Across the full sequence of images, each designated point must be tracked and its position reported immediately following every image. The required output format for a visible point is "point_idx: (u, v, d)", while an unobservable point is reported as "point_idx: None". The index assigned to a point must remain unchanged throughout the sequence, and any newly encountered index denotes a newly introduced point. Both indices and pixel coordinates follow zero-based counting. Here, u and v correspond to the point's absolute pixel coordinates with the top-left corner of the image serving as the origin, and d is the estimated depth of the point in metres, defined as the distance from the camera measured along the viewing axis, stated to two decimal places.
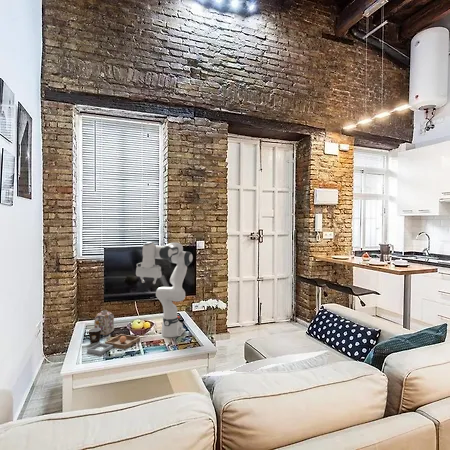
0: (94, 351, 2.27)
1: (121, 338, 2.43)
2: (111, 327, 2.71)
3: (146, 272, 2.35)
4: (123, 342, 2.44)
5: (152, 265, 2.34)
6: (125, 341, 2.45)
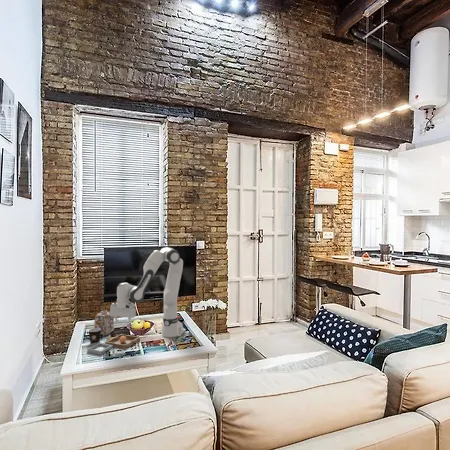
0: (94, 351, 2.27)
1: (121, 338, 2.43)
2: (111, 327, 2.71)
3: None
4: (123, 342, 2.44)
5: None
6: (125, 341, 2.45)
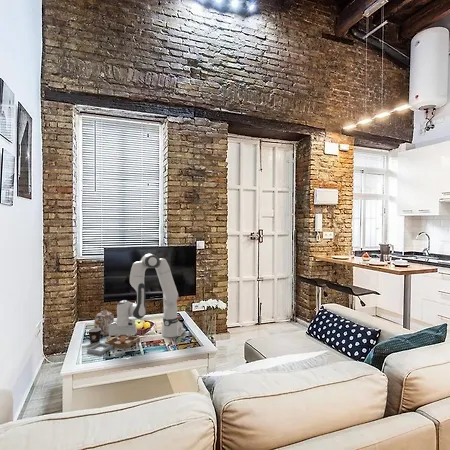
0: (94, 351, 2.27)
1: (121, 338, 2.43)
2: None
3: None
4: (123, 342, 2.44)
5: None
6: (125, 341, 2.45)
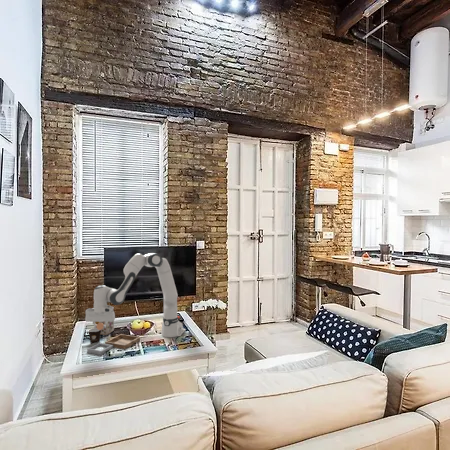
0: (94, 351, 2.27)
1: (98, 325, 2.31)
2: (111, 327, 2.71)
3: None
4: (100, 329, 2.31)
5: None
6: (102, 328, 2.32)
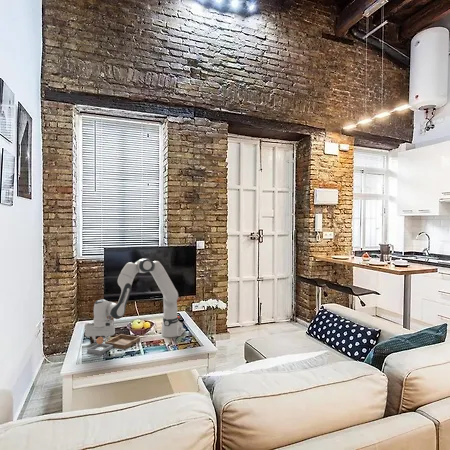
0: (94, 351, 2.27)
1: (98, 339, 2.31)
2: None
3: None
4: (100, 343, 2.31)
5: None
6: (102, 342, 2.33)
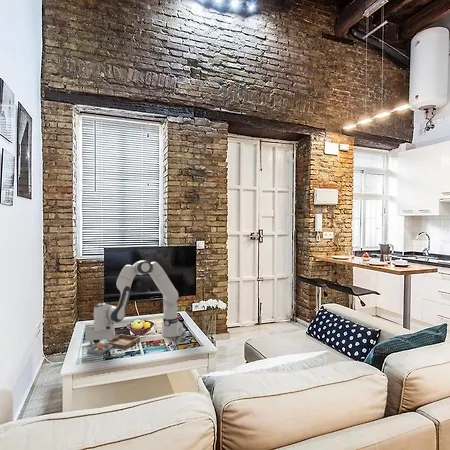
0: (94, 351, 2.27)
1: (98, 345, 2.31)
2: None
3: None
4: None
5: None
6: None
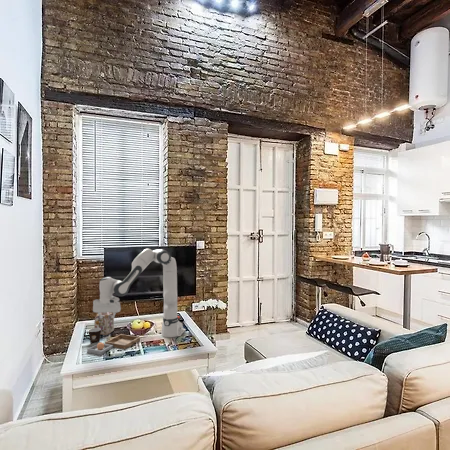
0: (94, 351, 2.27)
1: (99, 345, 2.31)
2: (111, 327, 2.71)
3: None
4: (101, 349, 2.31)
5: None
6: None
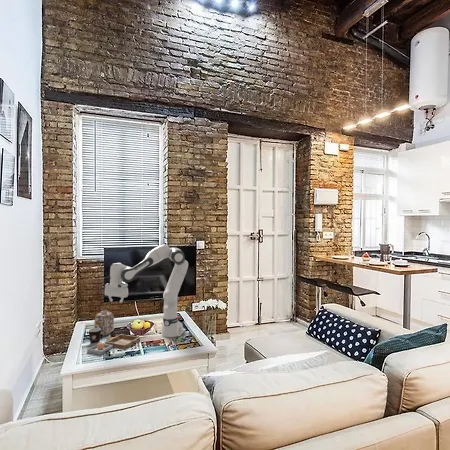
0: (94, 351, 2.27)
1: (99, 345, 2.31)
2: (111, 327, 2.71)
3: None
4: (101, 349, 2.31)
5: None
6: None
